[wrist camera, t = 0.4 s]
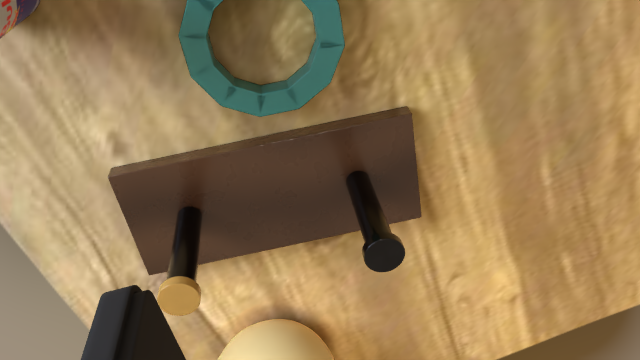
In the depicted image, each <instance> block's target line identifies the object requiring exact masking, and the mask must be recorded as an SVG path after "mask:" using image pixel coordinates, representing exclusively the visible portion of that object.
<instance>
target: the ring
mask: <svg viewBox="0 0 640 360" xmlns="http://www.w3.org/2000/svg"><path fill="white" fill-rule="evenodd" d="M222 1H223V0H187V4H186V8H185V12H184V16H183V20H182V24H181V28H180V32H179V39H180V43H181V46H182V49H183V53H184V56H185V59H186V63H187V66H188V69H189V72H190V76H191V77H192V78H193V79H194V80H195V81H196V82H197V83H198V84H199V85H200V86H201V87H202V88H203V89H204V90H205V91H206V92H207V93H208V94H209V95H210V96H211V97H212V98H213V99H214V100H215V101H216V102H217V103H219V104H220V105H221V106H223V107H227V108H231V109H234V110H238V111H241V112H245V113H248V114H252V115H255V116H259V117H262V116H267V115H272V114H276V113H281V112H286V111H291V110H296V109H299V108H301V107H302V106H303V105H304V104H306V103H307V102H308V101H309V100H310V99H312V98H313V97H314V96H315V95H316V94H318V93H319V92H320V91H321V90H322V89H324V88H325V87H326V86H327V85H328V84H329V83H330V82H331V80H332V77H333V75H334V72H335V70H336V67H337V64H338V62H339V59H340V57H341V54H342V52H343V49H344V46H345V42H344V35H343V28H342V22H341V15H340V9H339V3H338V1H337V0H302V1H303V3H304V4H305V5H306V6H307V7H308V8H309V10H310V11H311V12H312V15H313V20H314V26H315V32H316V40H315V42H314V45H313V48H312V51H311V53H310V56H309V59H308V62H307V63H306V64H305V65H304V66H303V67H302V68H300V69H299V70H298V71H297V72H296V73H295V74H293V75H292V76H291V77H290V78H289V79H288V80H285V81H280V82H275V83H271V84H266V85H261V86H260V85H257V84H253V83H250V82H247V81H243V80H240V79H237V78H234V77H233V76H232V75H231V74H230V73H229V72H228V71H227V70H226V69H225V68H224V67H223V66H222V65H221V64H220V63H219V62H218V61H217V60H216V59H215V57H214V53H213V50H212V46H211V42H210V39H209V35H208V29H209V26H210V22H211V18H212V15H213V11H214V9H215V8H216V7H217V6H218V5H219V4H220V3H221V2H222Z"/></svg>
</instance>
